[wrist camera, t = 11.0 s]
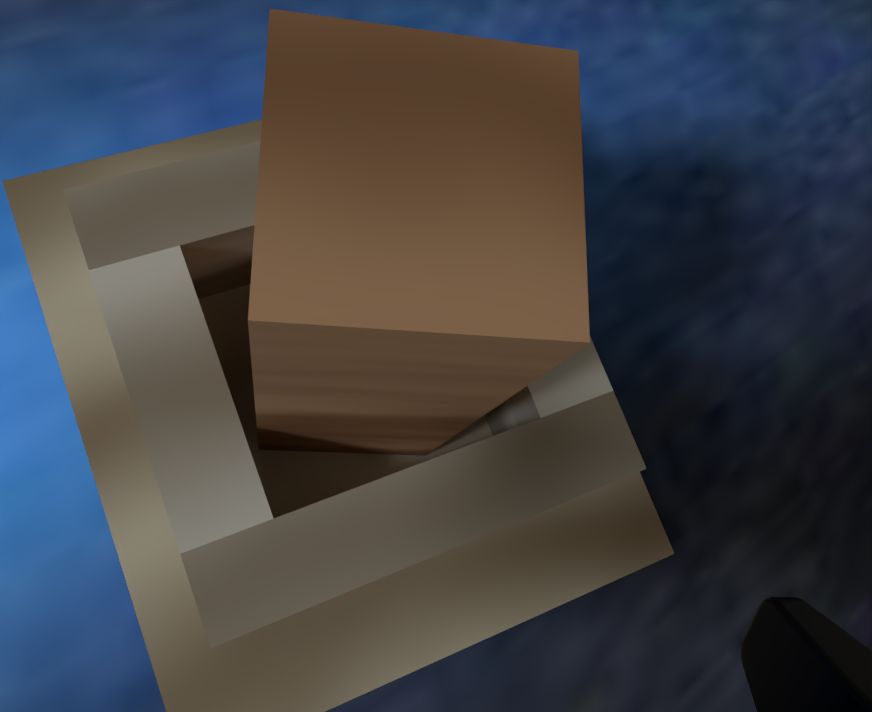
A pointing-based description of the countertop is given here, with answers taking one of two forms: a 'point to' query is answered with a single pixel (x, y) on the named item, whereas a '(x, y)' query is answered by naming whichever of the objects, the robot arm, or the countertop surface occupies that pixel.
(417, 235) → the wooden peg
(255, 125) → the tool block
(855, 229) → the countertop surface
